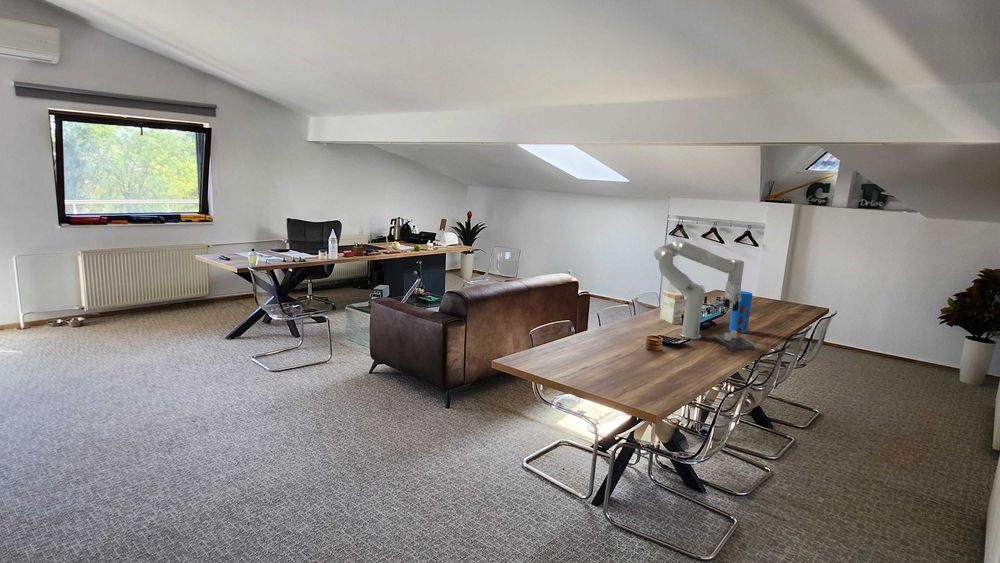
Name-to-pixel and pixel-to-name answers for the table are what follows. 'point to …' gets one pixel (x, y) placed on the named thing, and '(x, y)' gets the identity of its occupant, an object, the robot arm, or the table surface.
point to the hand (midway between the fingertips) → (730, 309)
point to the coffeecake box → (671, 306)
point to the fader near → (727, 336)
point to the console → (734, 342)
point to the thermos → (741, 313)
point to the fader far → (733, 333)
